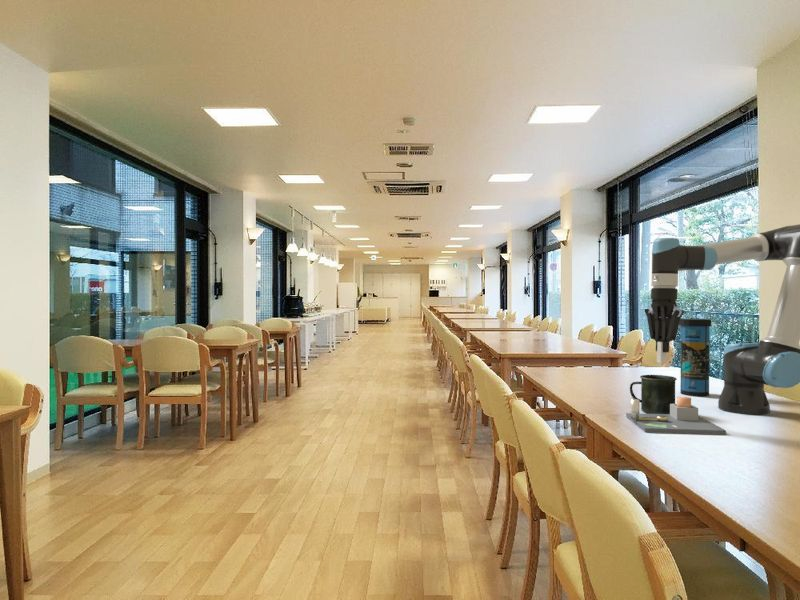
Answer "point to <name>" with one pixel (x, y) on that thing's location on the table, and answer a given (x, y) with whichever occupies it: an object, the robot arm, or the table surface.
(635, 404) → the brass ball-ended crank
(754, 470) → the table surface
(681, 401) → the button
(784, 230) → the robot arm
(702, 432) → the tuner board
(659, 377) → the mug
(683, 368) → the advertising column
